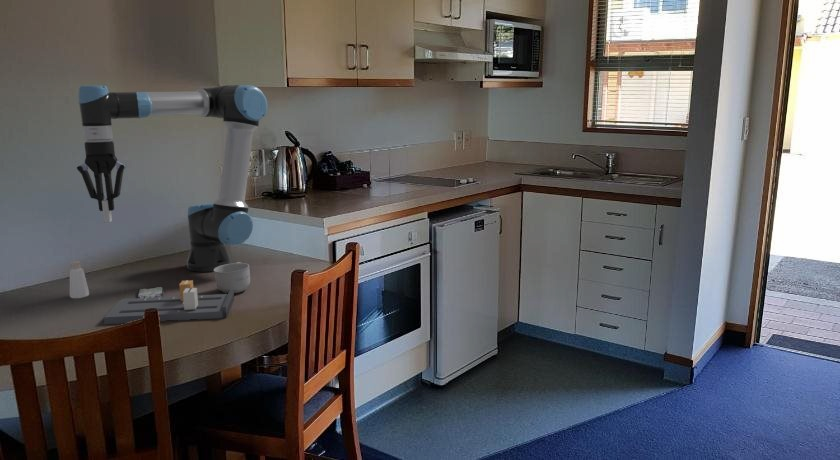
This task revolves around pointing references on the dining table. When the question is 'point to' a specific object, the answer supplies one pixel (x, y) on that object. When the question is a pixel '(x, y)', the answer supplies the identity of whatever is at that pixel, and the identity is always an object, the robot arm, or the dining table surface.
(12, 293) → the dining table surface
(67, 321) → the dining table surface
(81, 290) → the salt shaker
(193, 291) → the fader ivory
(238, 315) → the dining table surface
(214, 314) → the console
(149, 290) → the smartphone
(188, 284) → the fader orange
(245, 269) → the teacup
